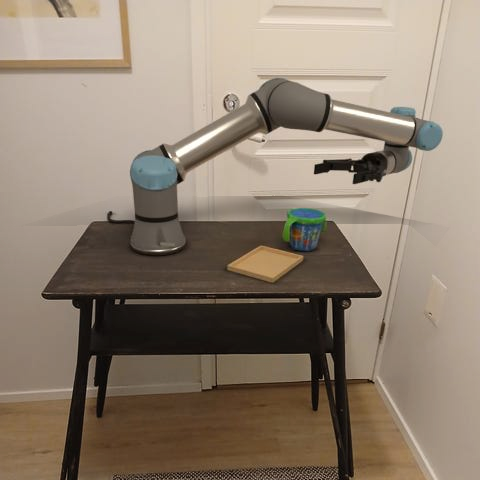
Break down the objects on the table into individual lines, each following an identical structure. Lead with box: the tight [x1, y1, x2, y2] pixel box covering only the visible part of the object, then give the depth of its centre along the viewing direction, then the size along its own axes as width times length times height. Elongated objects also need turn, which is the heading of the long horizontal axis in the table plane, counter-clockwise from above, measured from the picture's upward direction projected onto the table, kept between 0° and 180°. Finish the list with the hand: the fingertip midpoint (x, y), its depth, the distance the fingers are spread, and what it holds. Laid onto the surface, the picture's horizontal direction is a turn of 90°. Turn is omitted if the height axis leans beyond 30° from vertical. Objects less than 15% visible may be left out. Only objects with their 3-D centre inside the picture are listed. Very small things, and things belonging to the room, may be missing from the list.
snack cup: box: [281, 207, 327, 253], centre depth 136 cm, size 16×11×10 cm
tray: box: [226, 245, 304, 284], centre depth 127 cm, size 13×17×1 cm
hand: (333, 174), depth 136 cm, fingers open, 13 cm apart
